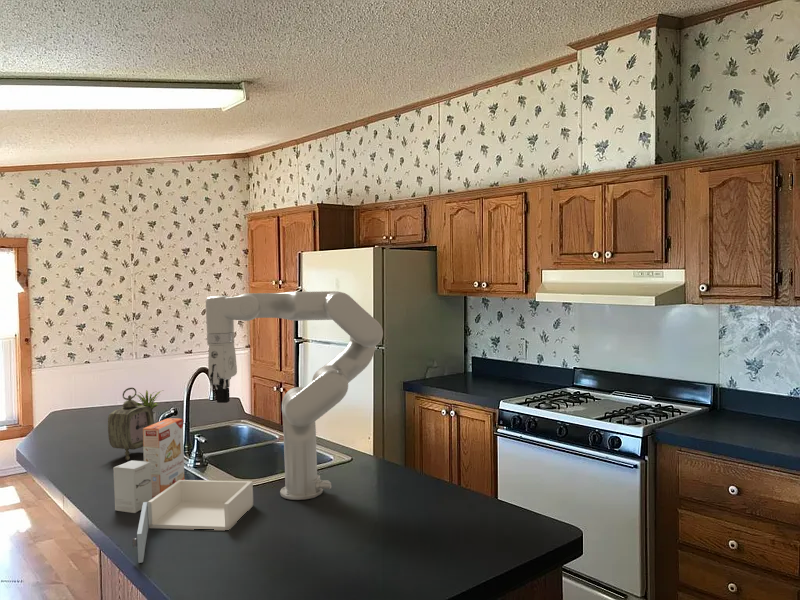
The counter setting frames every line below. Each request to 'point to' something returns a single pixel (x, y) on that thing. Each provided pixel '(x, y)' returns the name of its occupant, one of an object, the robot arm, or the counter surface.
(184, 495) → the case
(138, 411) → the tabletop clock
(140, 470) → the supplement box
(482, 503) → the counter surface
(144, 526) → the side door
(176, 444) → the cracker box
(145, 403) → the house plant
